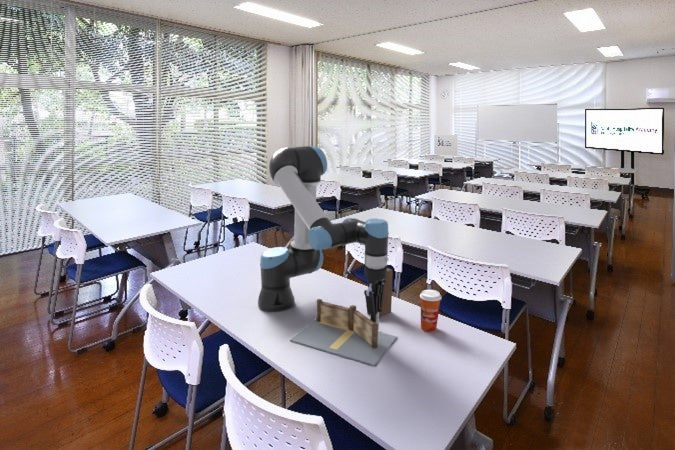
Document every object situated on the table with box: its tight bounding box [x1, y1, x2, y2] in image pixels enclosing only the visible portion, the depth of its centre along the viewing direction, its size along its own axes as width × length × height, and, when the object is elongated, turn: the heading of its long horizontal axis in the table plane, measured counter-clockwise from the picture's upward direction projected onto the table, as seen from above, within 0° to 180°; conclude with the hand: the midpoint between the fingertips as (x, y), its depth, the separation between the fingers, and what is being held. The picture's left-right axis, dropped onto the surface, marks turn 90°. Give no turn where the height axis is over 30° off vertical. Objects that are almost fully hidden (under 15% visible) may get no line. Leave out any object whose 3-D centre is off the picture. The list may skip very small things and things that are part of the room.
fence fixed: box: [316, 298, 357, 331], centre depth 154 cm, size 16×2×9 cm, turn 62°
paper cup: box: [419, 289, 442, 333], centre depth 152 cm, size 8×8×14 cm
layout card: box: [289, 318, 398, 367], centre depth 146 cm, size 32×20×1 cm, turn 62°
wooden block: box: [367, 267, 394, 317], centre depth 163 cm, size 9×4×18 cm, turn 125°
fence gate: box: [353, 309, 379, 348], centre depth 143 cm, size 14×2×8 cm, turn 30°
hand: (374, 329), depth 144 cm, fingers closed
